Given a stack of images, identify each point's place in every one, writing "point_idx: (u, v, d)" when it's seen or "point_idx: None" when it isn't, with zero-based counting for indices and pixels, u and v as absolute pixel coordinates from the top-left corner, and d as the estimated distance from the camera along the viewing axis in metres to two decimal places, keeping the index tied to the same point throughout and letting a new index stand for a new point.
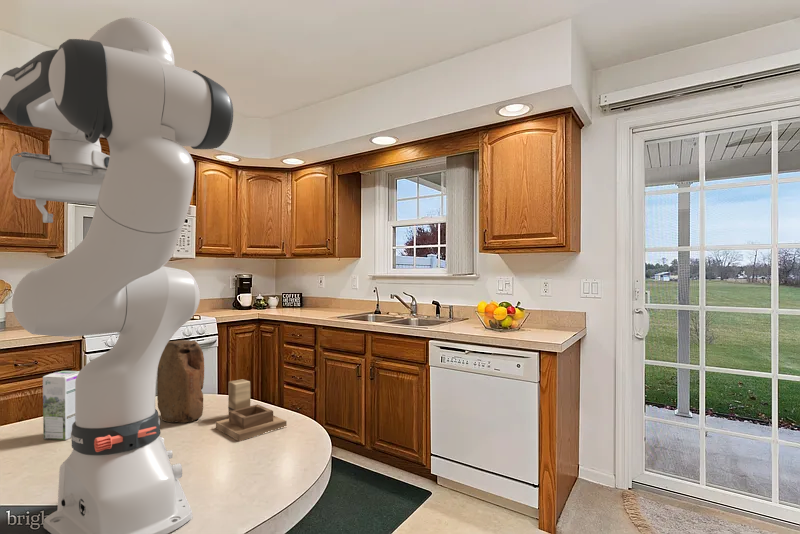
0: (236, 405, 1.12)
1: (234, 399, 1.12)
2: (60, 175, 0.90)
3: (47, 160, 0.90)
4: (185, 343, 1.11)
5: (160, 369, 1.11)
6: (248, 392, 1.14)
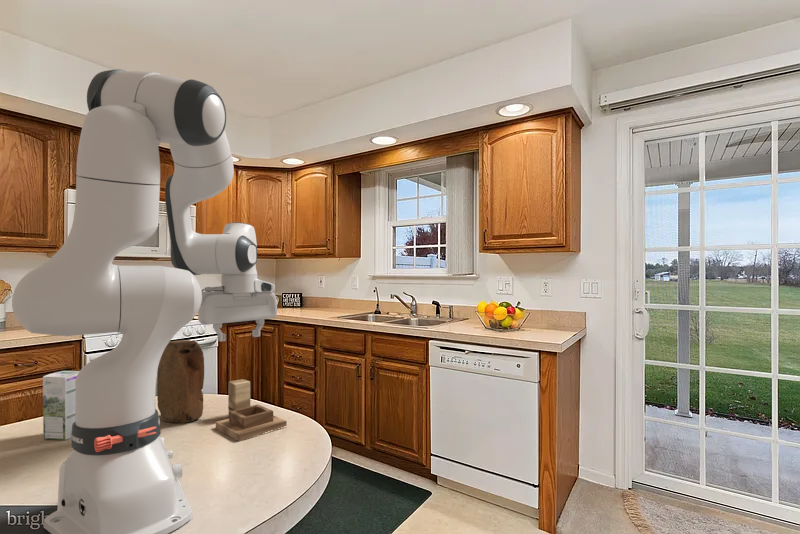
0: (236, 405, 1.12)
1: (234, 399, 1.12)
2: (231, 302, 1.11)
3: (222, 291, 1.11)
4: (185, 343, 1.11)
5: (160, 369, 1.11)
6: (248, 392, 1.14)
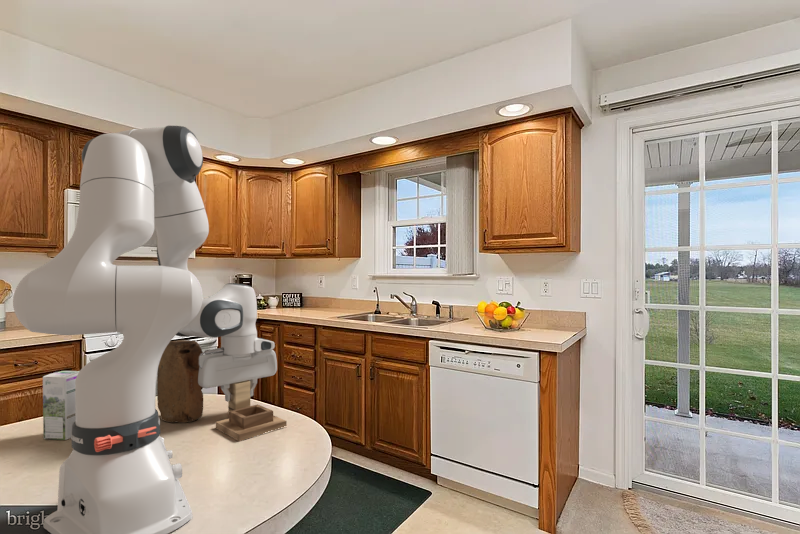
0: (236, 404, 1.12)
1: (234, 399, 1.12)
2: (231, 363, 1.11)
3: (221, 352, 1.11)
4: (185, 343, 1.11)
5: (160, 369, 1.11)
6: (248, 392, 1.14)
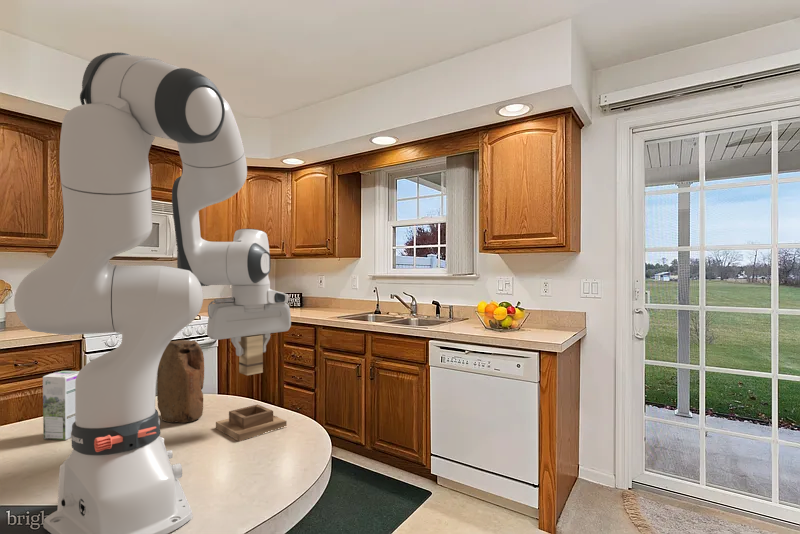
0: (248, 359, 1.04)
1: (246, 353, 1.04)
2: (242, 314, 1.03)
3: (232, 302, 1.03)
4: (185, 343, 1.11)
5: (160, 369, 1.11)
6: (261, 347, 1.06)
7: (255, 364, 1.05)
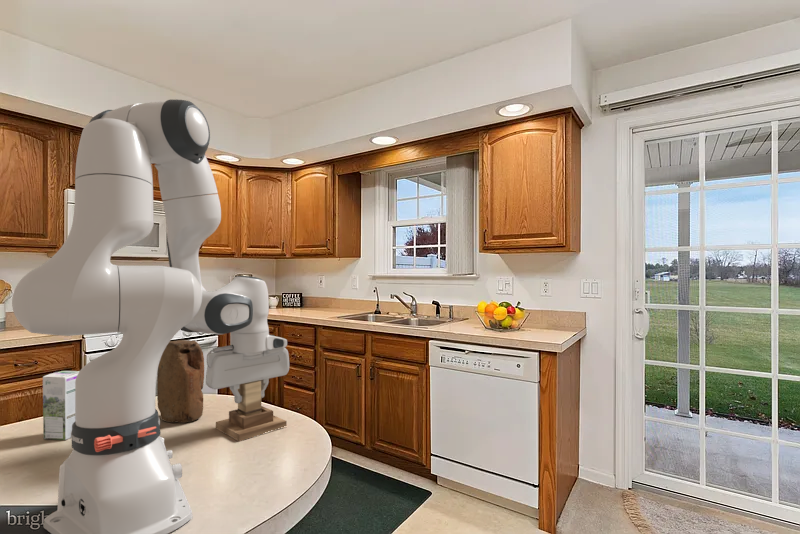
0: (246, 406, 1.04)
1: (244, 400, 1.04)
2: (241, 362, 1.03)
3: (231, 350, 1.03)
4: (185, 343, 1.11)
5: (160, 369, 1.11)
6: (259, 393, 1.06)
7: (253, 411, 1.05)
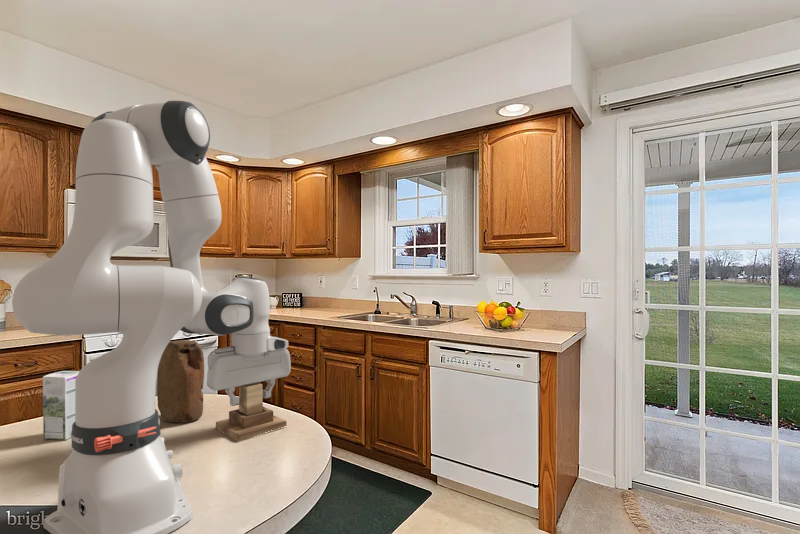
0: (248, 409, 1.03)
1: (245, 403, 1.04)
2: (242, 363, 1.03)
3: (232, 351, 1.02)
4: (185, 343, 1.11)
5: (160, 369, 1.11)
6: (261, 396, 1.06)
7: None
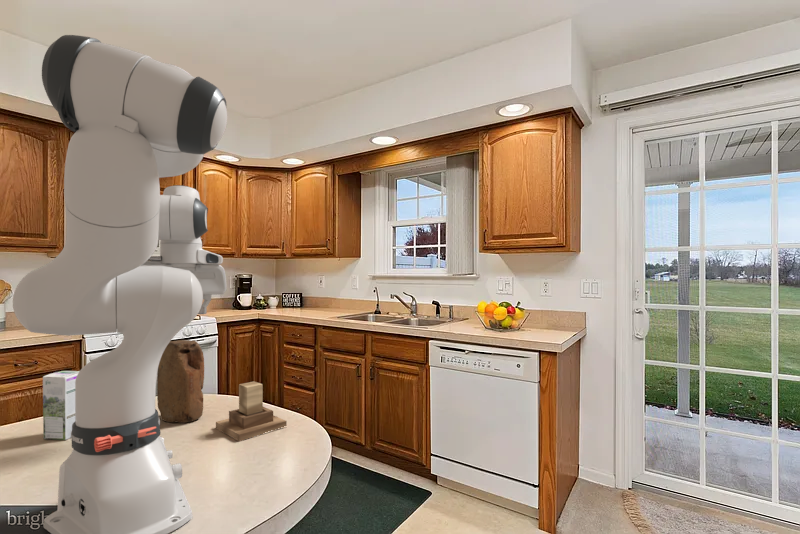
0: (248, 409, 1.03)
1: (245, 403, 1.04)
2: None
3: (159, 261, 1.00)
4: (185, 343, 1.11)
5: (160, 369, 1.11)
6: (261, 396, 1.06)
7: None
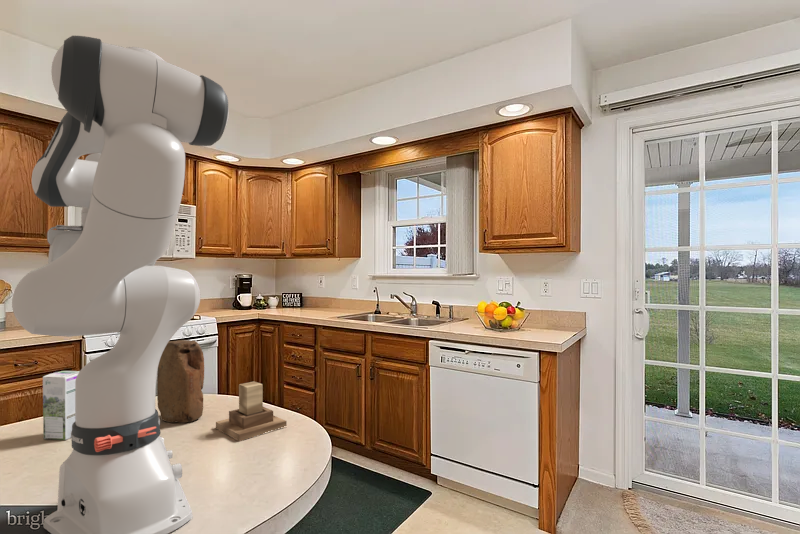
0: (248, 409, 1.03)
1: (245, 403, 1.04)
2: None
3: (79, 231, 0.96)
4: (185, 343, 1.11)
5: (160, 369, 1.11)
6: (261, 396, 1.06)
7: None
